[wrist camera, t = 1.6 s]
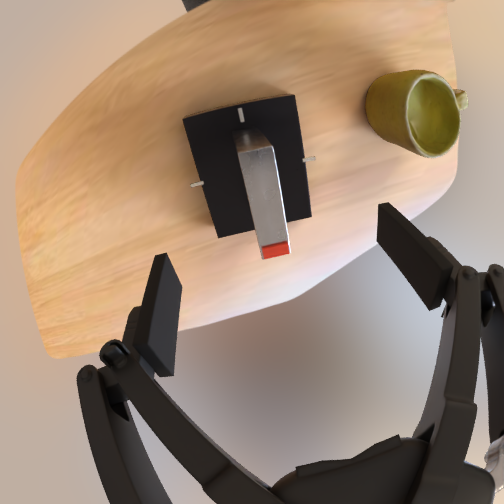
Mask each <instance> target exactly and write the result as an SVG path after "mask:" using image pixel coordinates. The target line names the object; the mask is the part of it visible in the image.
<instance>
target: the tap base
mask: <svg viewBox="0 0 504 504" xmlns="http://www.w3.org/2000/svg"><path fill="white" fill-rule="evenodd" d="M183 123H184V126H185V130H186V133H187V137H188V140H189V144H190V147H191V151H192V154H193V157H194V161H195V164H196V168H197V171H198V174H199V178H200V182H196V183H192V184H190V185H191V188H192V187H195V186H199V185H202V187H203V191H204V194H205V197H206V201H207V204H208V207H209V210H210V213H211V217H212V220H213V223H214V226H215V229H216V232H217V236H218V238H221V237H226V236H230V235H234V234H238V233H243V232H247V231H251V230H255V227H254V223H253V218H252V214H251V210H250V206H249V201H248V197H247V193H246V188H245V184H244V180H243V176H242V171H241V167H240V163H239V159H238V154H237V150H236V146H235V142H234V138H233V133H232V131H236V130H240V129H245V128H249V127H254V126H256V127H257V128H258V129H259V130H260V131H261V132H262V134H263V135H264V136H265V137H266V138H267V139H268V141H269V142H270V143H271V144H272V145H273V148H274V154H275V159H276V164H277V170H278V176H279V181H280V187H281V193H282V199H283V205H284V211H285V218H286V222H291V221H295V220H300V219H304V218H309V217H312V215H311V205H310V196H309V188H308V179H307V171H306V164H305V162H306V161H312V160H316V159H315V156H314V157H308V158H305V156H304V149H303V143H302V136H301V129H300V123H299V117H298V111H297V105H296V100H295V95H292V94H284V95H277V96H271V97H265V98H259V99H254V100H249V101H244V102H239V103H235V104H230V105H226V106H222V107H217V108H213V109H209V110H206V111H202V112H198V113H195V114H191V115H188V116H185V117H184V118H183Z"/></svg>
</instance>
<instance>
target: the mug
mask: <svg viewBox="0 0 504 504" xmlns="http://www.w3.org/2000/svg"><path fill="white" fill-rule="evenodd" d="M467 107H468V99H467V95H466V92H465V91H463V90H457V89H454V90H453V89H452V88H451V86H450V85H449V83H448V82H447V81H446V80H445V79H444V78H443V77H441V76H440V75H438V74H436V73H434V72H430V71H425V70H409V71H403V72H396V73H390V74H387V75H384V76H381V77H379V78H378V79H376V80H375V81H374V82H373V83H372V85H371V86H370V88H369V90H368V92H367V96H366V103H365V110H366V115H367V118H368V121H369V123H370V125H371V127H372V128H373V129H374V131H375V132H376V133H377V135H379V136H380V137H381V138H383V139H384V140H386V141H387V142H390V143H393V144H397V145H399V146H401V147H403V148H405V149H407V150H409V151H411V152H413V153H415V154H418V155H420V156H423V157H427V158H437V157H440V156H443V155H444V154H446V153H447V152H448V151H450V149H451V148H452V147H453V146H454V145H455V143H456V141H457V139H458V136H459V132H460V126H461V119H460V111H459V110H464V109H465V108H467Z"/></svg>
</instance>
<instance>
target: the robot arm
mask: <svg viewBox="0 0 504 504" xmlns="http://www.w3.org/2000/svg"><path fill="white" fill-rule="evenodd" d="M377 242H378V243H379V245H380V246H381V247H382V248H383V250H384V251H385V252H386V253H387V255H388V256H389V257H390V258H391V259H392V261H393V262H394V263H395V264H396V266H397V267H398V268H399V270H400V271H401V272H402V274H403V275H404V276H405V278H406V279H407V280H408V282H409V283H410V284H411V286H412V287H413V288H414V290H415V291H416V293H417V294H418V295H419V297H420V298H421V299H422V301H423V302H424V304H425V305H426V307H427V308H428V310H429V311H430V310H433V309H435V308H438V307H440V305H441V302H442V300H443V298H444V300H445V301H446V306H445V308H444V311H443V313H442V316H441V317H443V316H444V319H443V327H442V333H441V340H440V346H439V351H438V356H437V361H436V366H435V370H434V375H433V379H432V383H431V387H430V391H429V394H428V398H427V401H426V405H425V408H424V411H423V414H422V417H421V420H420V422H419V424H418V426H417V428H416V429H415V431H414V434H413V436H412V438H409V437H406V438H400V436H399V434H398V435H396V436H394V437H391V438H389V439H386V440H384V441H381V442H379V443H376V444H374V445H373V446H371V447H370V448H368V449H367V450H365V451H363V452H362V453H360V454H359V455H357V456H355V457H353V458H351V459H343V460H327V461H319V462H315V463H311V464H306V465H302V466H297V467H296V470H295V471H293V472H291V473H289V474H287V475H285V476H284V477H283V478H281V479H280V480H279V481H278V482H276V483H275V484H274V486H273V487H272V488H271V487H270V486H268V485H267V484H266V483H265V482H263V481H262V480H260V479H259V478H258V477H256V476H255V475H254V474H252V473H251V472H249V471H248V470H247V469H245V468H244V467H243V466H242V465H241V464H239V463H238V462H237V461H236V460H235V459H233V458H232V457H231V456H230V455H229V454H227V453H226V452H225V451H224V450H223V449H222V448H221V447H220V446H218V445H217V444H216V443H215V442H214V441H213V440H212V439H211V438H210V437H209V436H208V435H207V434H206V433H204V432H203V431H202V430H201V429H200V428H199V427H198V426H197V425H196V424H195V423H194V422H193V421H192V420H191V419H190V418H189V417H188V416H187V415H186V414H185V412H183V410H182V409H181V408H180V407H179V406H178V405H177V404H176V403H175V402H174V401H173V400H172V399H171V397H170V396H169V395H168V394H167V393H166V392H165V391H164V390H163V388H162V387H161V386H160V385H159V384H158V383H157V382H156V380H155V379H154V373H155V372H156V373H157V375H158V376H159V377H168V376H174V365H175V352H176V340H177V330H178V320H179V311H180V302H181V293H182V285H181V283H180V281H179V279H178V276H177V274H176V272H175V270H174V268H173V266H172V264H171V261H170V259H169V257H168V255H167V253H163V254H159V255H155V258H154V261H153V264H152V268H151V271H150V275H149V278H148V282H147V286H146V289H145V293H144V297H143V301H142V305H141V306H138V307H134V308H133V309H132V311H131V312H130V314H129V316H128V320H127V324H126V327H125V331H124V335H123V339H122V342H121V341H120V340H116V339H114V340H110V341H109V342H107V343H106V344H105V345H104V346H103V347H102V348H101V350H100V355H99V356H100V360H101V361H102V362H103V363H104V364H105V365H106V366H104V367H102V368H100V369H97V368H95V367H94V366H93V365H86V366H84V367H83V368H81V370H80V371H79V372H78V375H77V386H78V393H79V398H80V404H81V409H82V414H83V419H84V423H85V428H86V432H87V435H88V440H89V443H90V447H91V451H92V454H93V457H94V461H95V464H96V467H97V470H98V473H99V476H100V479H101V482H102V485H103V487H104V490H105V492H106V495H107V498H108V500H109V502H110V504H172V502H171V500H170V498H169V497H168V495H167V493H166V491H165V489H164V487H163V485H162V484H161V482H160V480H159V478H158V476H157V474H156V472H155V470H154V467H153V465H152V463H151V461H150V459H149V457H148V455H147V452H146V450H145V448H144V445H143V443H142V441H141V438H140V436H139V433H138V431H137V428H136V426H135V423H134V420H133V418H132V415H131V412H130V409H129V406H128V404H127V400H130V401H131V402H132V404H133V405H134V406H135V408H136V409H137V411H138V412H139V413H140V415H141V416H142V418H143V419H144V420H145V421H146V423H147V424H148V425H149V427H150V428H151V429H152V431H153V432H154V433H155V434H156V436H157V437H158V438H159V439H160V441H161V442H162V443H163V444H164V445H165V446H166V448H167V449H168V450H169V451H170V452H171V453H172V455H173V456H174V457H175V458H176V459H177V460H178V461H179V462H180V463H181V465H183V467H184V468H185V469H186V470H187V471H188V472H189V473H190V474H191V475H192V476H193V477H194V478H195V479H196V480H197V481H198V482H199V483H200V484H201V485H202V488H203V490H204V492H205V493H206V494H207V495H208V496H209V497H210V498H211V499H212V500H213V501H214V502H215V503H217V504H493V500H494V496H495V493H497V492H498V491H500V490H501V489H502V488H504V268H503V267H501V266H500V265H497V264H492V265H490V266H489V269H488V271H487V272H480V273H478V272H477V271H476V270H475V269H474V268H472V267H470V266H462V265H461V264H460V263H459V262H458V261H457V260H456V259H455V258H454V256H453V255H452V254H451V253H450V252H448V250H447V249H446V248H445V247H443V245H442V244H441V243H440V242H439V241H438V240H436V239H434V238H432V237H425V235H423V234H422V233H421V232H420V231H419V230H418V229H417V228H416V227H415V226H414V225H413V224H412V223H411V222H410V221H409V220H408V219H407V218H406V217H404V216H403V215H402V214H401V213H400V212H399V211H398V210H397V209H396V208H394V207H393V206H392V205H391V204H390V203H389V202H387V203H382V204H378V226H377ZM480 336H481V342H482V347H483V354H484V361H485V369H486V378H487V389H488V410H489V435H490V443H491V445H490V447H489V449H488V452H487V453H486V454H485V457H484V459H485V462H486V463H487V464H486V468H485V469H483V468H480V467H478V466H476V465H473V464H471V463H469V462H467V461H465V457H466V454H467V450H468V447H469V443H470V440H471V436H472V432H473V428H474V423H475V419H476V414H477V405H476V404H475V403H474V393H475V388H476V381H477V373H478V364H479V353H480Z"/></svg>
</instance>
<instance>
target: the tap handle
mask: <svg viewBox="0 0 504 504" xmlns="http://www.w3.org/2000/svg"><path fill="white" fill-rule="evenodd" d="M232 133H233V138H234V142H235V146H236V150H237V154H238V159H239V163H240V167H241V171H242V176H243V180H244V184H245V188H246V193H247V197H248V201H249V206H250V210H251V214H252V218H253V223H254V227H255V231H256V235H257V239H258V244H259V248H260V252H261V256H262V259H268V258H272V257H277V256H281V255H285V254H289V253H291V251H290V244H289V237H288V231H287V224H286V218H285V211H284V205H283V199H282V193H281V187H280V181H279V176H278V170H277V164H276V159H275V154H274V148H273V145H272V144H271V143H270V142H269V141H268V139H267V138H266V137H265V136H264V135H263V134H262V132H261V131H260V130H259V129H258V128H257V127H256V126H254V127H249V128H245V129H240V130H236V131H232Z"/></svg>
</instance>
